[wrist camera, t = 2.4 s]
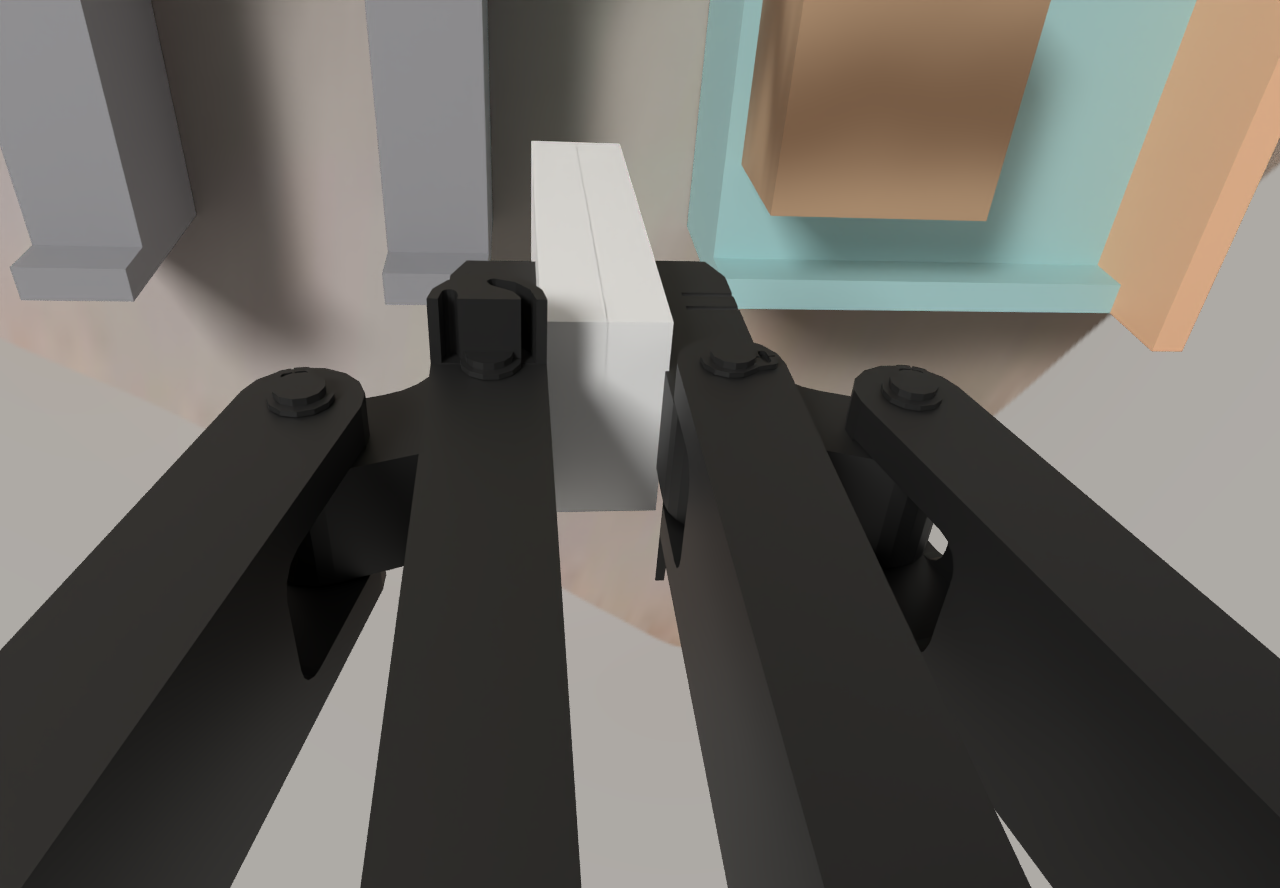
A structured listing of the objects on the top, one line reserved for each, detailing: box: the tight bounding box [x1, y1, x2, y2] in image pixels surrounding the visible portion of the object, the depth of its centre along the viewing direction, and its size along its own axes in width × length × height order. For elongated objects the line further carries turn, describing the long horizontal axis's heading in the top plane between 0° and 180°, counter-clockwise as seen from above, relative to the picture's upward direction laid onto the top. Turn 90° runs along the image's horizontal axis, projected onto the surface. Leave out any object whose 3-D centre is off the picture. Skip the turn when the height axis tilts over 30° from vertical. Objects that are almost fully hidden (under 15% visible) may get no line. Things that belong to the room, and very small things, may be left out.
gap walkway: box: [0, 0, 1280, 352], centre depth 26 cm, size 14×34×9 cm, turn 87°
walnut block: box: [741, 0, 1051, 221], centre depth 25 cm, size 6×6×4 cm
